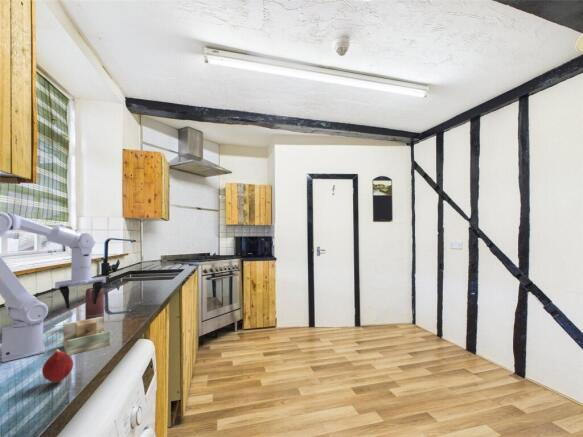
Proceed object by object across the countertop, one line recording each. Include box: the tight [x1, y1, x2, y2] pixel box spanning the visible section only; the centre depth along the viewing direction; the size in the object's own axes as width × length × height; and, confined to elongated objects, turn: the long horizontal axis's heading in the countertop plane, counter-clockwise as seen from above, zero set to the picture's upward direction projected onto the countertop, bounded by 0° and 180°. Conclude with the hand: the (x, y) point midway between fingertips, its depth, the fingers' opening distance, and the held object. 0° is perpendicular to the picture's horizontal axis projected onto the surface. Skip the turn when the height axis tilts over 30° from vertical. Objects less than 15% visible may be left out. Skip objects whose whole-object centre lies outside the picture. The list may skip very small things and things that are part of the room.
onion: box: [41, 348, 74, 384], centre depth 71 cm, size 6×6×8 cm
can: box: [84, 286, 105, 320], centre depth 116 cm, size 6×6×14 cm
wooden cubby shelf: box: [62, 316, 111, 356], centre depth 94 cm, size 11×10×7 cm
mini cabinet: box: [74, 319, 97, 338], centre depth 95 cm, size 5×6×6 cm
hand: (81, 305), depth 103 cm, fingers open, 7 cm apart
